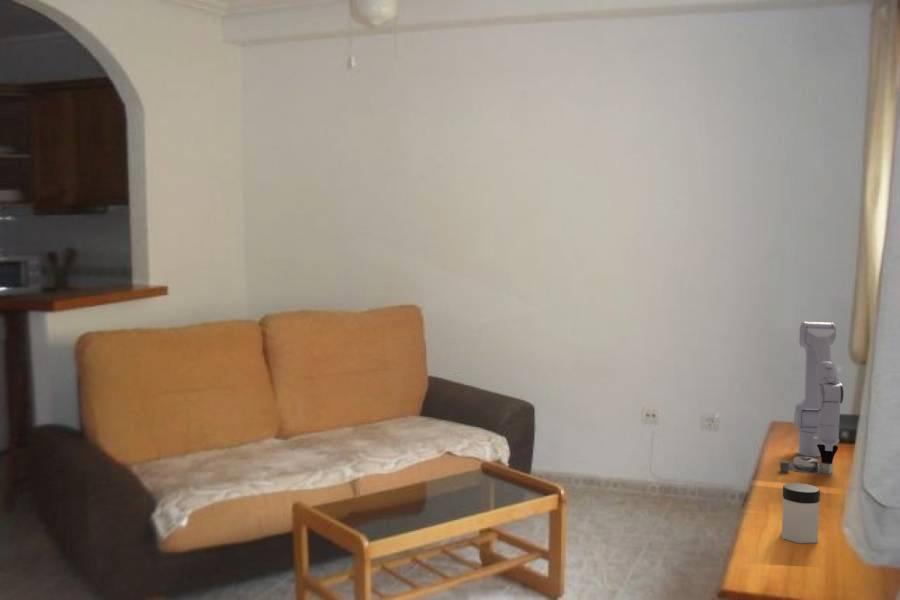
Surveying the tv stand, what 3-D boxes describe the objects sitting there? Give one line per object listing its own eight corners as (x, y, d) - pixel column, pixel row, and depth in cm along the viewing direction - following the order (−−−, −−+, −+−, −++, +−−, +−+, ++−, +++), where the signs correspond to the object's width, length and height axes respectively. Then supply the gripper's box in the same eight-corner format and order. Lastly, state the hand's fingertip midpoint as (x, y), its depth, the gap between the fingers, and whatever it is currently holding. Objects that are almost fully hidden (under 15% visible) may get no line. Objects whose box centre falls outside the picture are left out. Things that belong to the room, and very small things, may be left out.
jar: (826, 539, 213) (828, 488, 212) (808, 546, 208) (810, 494, 207) (791, 529, 220) (793, 480, 219) (772, 536, 215) (774, 486, 214)
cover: (801, 463, 279) (802, 453, 278) (823, 468, 273) (823, 458, 273) (788, 467, 274) (789, 456, 274) (810, 472, 269) (810, 461, 269)
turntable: (797, 463, 283) (797, 451, 283) (841, 473, 272) (842, 460, 272) (773, 469, 275) (774, 457, 275) (819, 479, 264) (819, 467, 263)
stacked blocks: (779, 474, 271) (780, 460, 270) (788, 475, 270) (789, 461, 270) (779, 477, 268) (780, 462, 268) (788, 478, 267) (789, 463, 267)
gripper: (813, 417, 278) (811, 461, 279) (814, 428, 264) (812, 474, 265) (838, 419, 275) (836, 464, 276) (841, 430, 262) (839, 476, 263)
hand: (826, 469), depth 271 cm, fingers closed, pressing on turntable
